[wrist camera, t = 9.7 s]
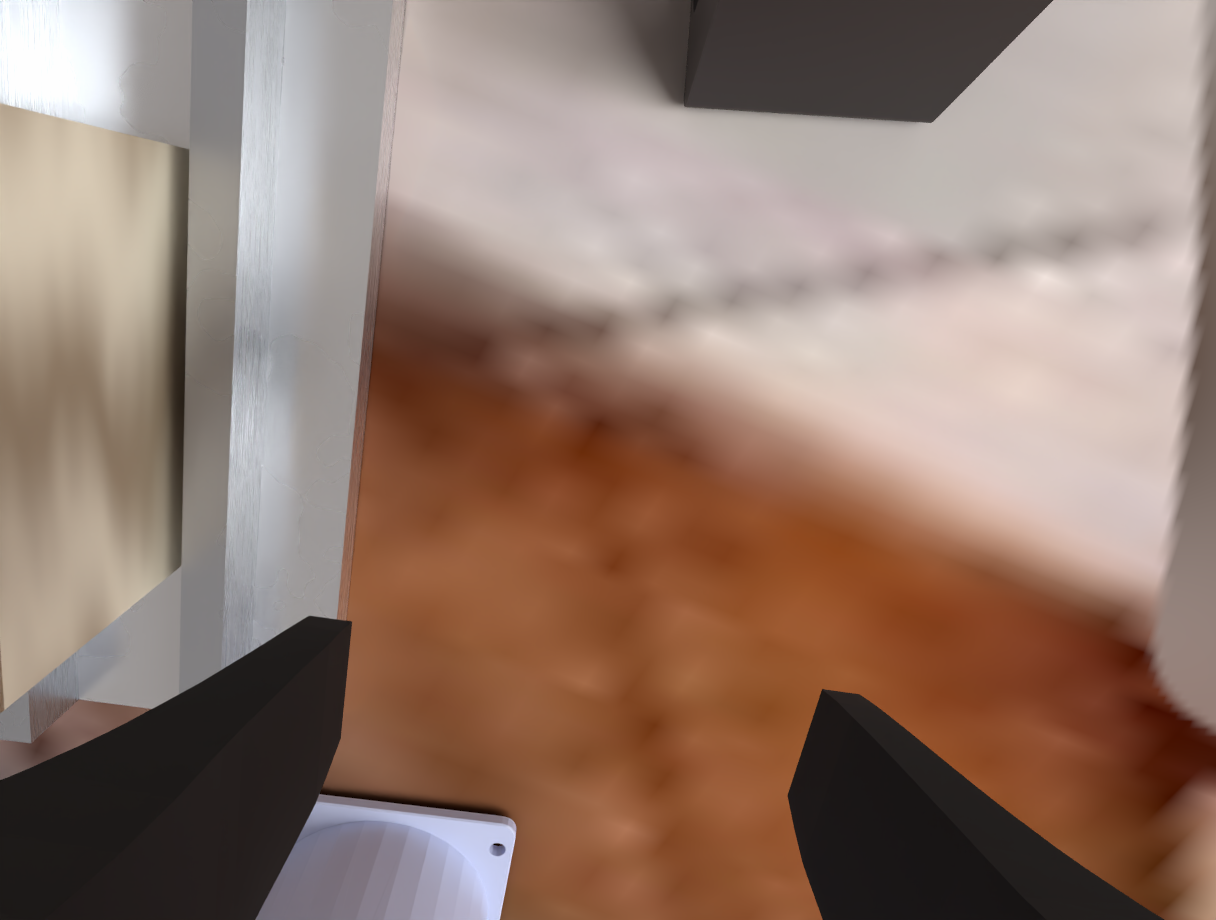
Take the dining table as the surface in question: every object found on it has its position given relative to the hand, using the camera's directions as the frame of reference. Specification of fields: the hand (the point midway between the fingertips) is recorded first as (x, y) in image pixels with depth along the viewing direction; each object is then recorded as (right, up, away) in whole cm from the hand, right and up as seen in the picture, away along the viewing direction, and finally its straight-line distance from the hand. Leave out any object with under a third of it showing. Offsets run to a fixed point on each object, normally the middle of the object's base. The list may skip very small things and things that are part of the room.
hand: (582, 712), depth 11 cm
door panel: (-11, +6, +6) cm, 14 cm away
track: (-11, +7, +7) cm, 15 cm away
